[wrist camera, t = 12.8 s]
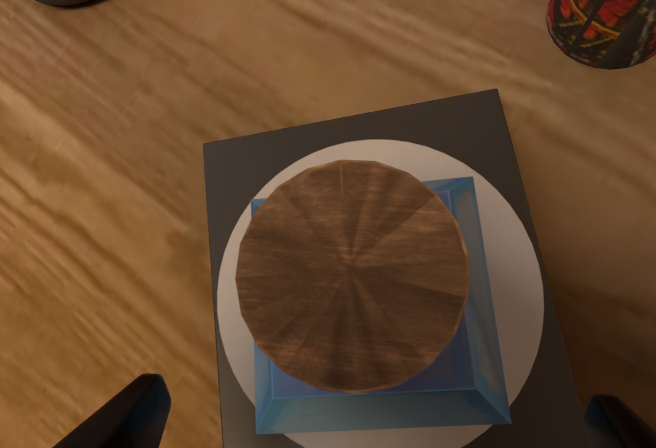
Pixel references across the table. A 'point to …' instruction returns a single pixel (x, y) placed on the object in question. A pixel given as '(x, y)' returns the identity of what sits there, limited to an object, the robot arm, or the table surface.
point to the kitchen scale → (500, 250)
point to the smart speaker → (62, 2)
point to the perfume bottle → (370, 303)
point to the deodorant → (604, 31)
